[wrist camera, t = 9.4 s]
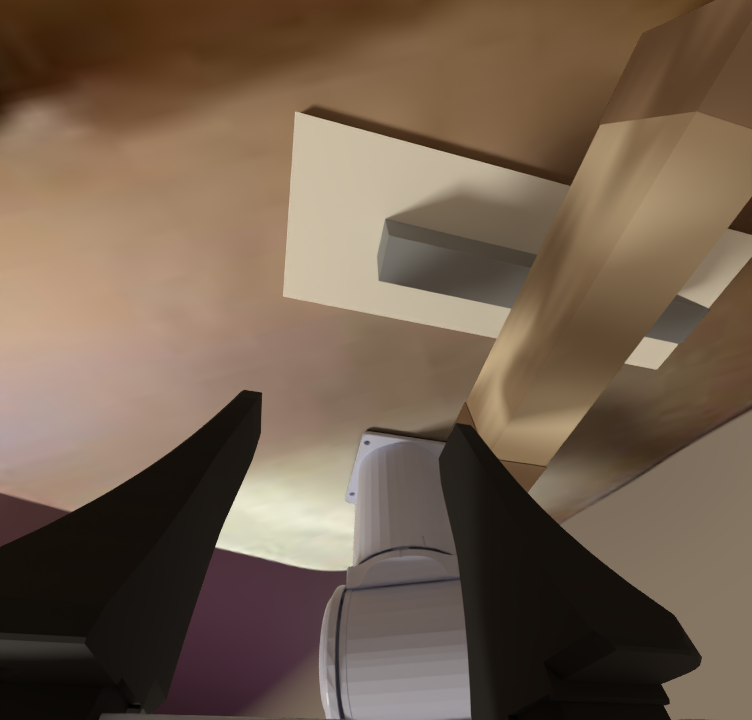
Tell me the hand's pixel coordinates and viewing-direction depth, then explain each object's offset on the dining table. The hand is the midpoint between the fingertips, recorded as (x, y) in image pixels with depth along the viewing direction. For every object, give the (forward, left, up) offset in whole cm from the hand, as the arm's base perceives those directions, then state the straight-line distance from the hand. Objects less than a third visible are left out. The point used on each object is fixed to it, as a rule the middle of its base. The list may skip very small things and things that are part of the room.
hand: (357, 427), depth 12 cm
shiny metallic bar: (+4, -8, -5) cm, 11 cm away
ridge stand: (+5, -8, -10) cm, 14 cm away
